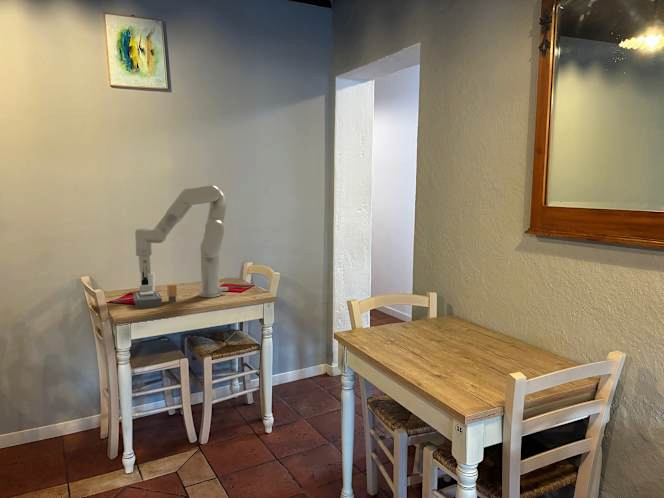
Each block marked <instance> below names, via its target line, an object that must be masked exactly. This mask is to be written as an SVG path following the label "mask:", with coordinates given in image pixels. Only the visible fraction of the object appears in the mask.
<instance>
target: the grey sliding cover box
mask: <svg viewBox="0 0 664 498" xmlns="http://www.w3.org/2000/svg"><path fill="white" fill-rule="evenodd" d="M153 292H154V295H144V296H140V293H139V292H137V291H136V292H133V303H134V306H135V309H136V310H137V309H146V308H148V309H149V308H158V307H162V306H163V302H162V301H163V300H162V299H163V298H162V296H161V295H160V292H159V291H158V290H154V291H153Z"/></svg>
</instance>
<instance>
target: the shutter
mask: <svg viewBox="0 0 664 498" xmlns="http://www.w3.org/2000/svg"><path fill="white" fill-rule="evenodd" d="M138 293H140V296H144V295H154V292H153V290H152V285H141V284H140V285H139V292H138Z"/></svg>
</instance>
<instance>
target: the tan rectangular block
mask: <svg viewBox="0 0 664 498" xmlns="http://www.w3.org/2000/svg"><path fill="white" fill-rule="evenodd" d="M166 287H167V289H166V290H167V291H166V293H167V294H166V295H167V297H168V302H169V303H176V302H177V298H176V297H177V296H178V295H177V293H178V291H177V284H176V282H174V283H173V282H171V283H170V282H169V283H166Z"/></svg>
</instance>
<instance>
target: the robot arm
mask: <svg viewBox="0 0 664 498" xmlns="http://www.w3.org/2000/svg"><path fill="white" fill-rule="evenodd" d="M207 203H209V209H208V216H207V220H206V223H205V226H204V227H205V228H204V229H205V230H204V234H203V239H202V241H201V243H200V274H201V275H200V278H201V280H200V285H201V286H200V287H201V290H200V291H199V292H198V296H199V297H201V298H202V297H203V298H216V297H217V296H218V297H221V296H222V295H223V292H224V291H225V292H226V291H227V292H228V291H229V287H228V286H221V285H220V251H221V247H222V242H223V238H224V233H225V226H224V220H225V217H226V210H227V200H226V197H225V195H224V193H223V191H221V189H220V188H218V187H217V186H216V185H215V184H208V185H205V186H200V187H199V186H198V187H192V188H191V187H190V188H189V187H187V188H184V189H183V190H182V191H181V192H180V194H178V196H177V197H176V199H175V200H174V201H173V202H172V204H171V205H170V206H169V208H168V209H167V210H166V212H165V214H164V216H163V217H162V218H161V219H160V221H159V222H158V223H157V224H156V225H155V227H154V228H153V229H149V228H137V229H136V230H135V256H137V257H138V267H139V274H140V273H141V275H142V279H141V278H140V284H141V283H142V285H148V274H151V272H152V270H151V257H150V256H152V244H162V243H164V242H166V238H167V237H168V235H169V234H170V233H171V231H172V230H173V229H174V228H175V227H176V225H177V224H178V223H180V222H181V220H183V219H184V217H185V216H186V214H187V213H188V212H189V211H190V209H191V208H192V207H193V206H194V205H201V204H207ZM220 295H221V296H220ZM218 297H217V298H218Z"/></svg>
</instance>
